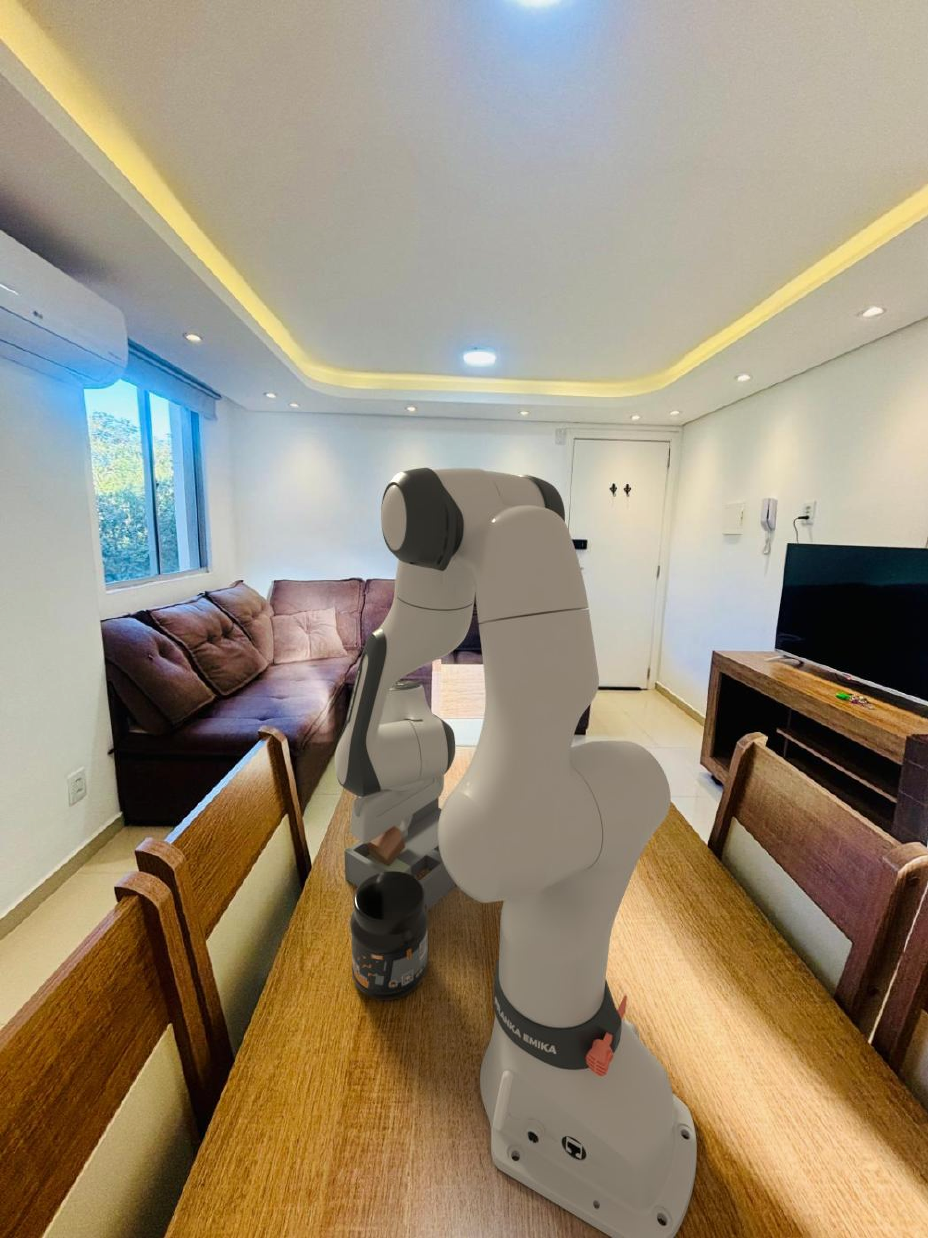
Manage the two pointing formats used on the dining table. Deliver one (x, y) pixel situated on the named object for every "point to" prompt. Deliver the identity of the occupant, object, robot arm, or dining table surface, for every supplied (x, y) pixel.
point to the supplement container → (389, 935)
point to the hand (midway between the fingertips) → (399, 837)
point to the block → (387, 846)
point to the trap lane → (408, 856)
